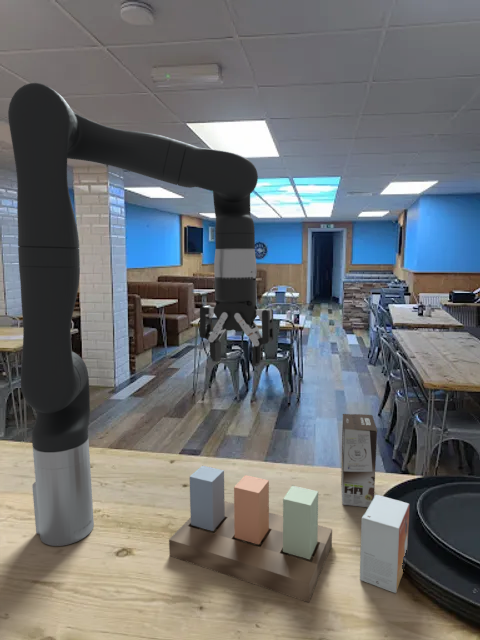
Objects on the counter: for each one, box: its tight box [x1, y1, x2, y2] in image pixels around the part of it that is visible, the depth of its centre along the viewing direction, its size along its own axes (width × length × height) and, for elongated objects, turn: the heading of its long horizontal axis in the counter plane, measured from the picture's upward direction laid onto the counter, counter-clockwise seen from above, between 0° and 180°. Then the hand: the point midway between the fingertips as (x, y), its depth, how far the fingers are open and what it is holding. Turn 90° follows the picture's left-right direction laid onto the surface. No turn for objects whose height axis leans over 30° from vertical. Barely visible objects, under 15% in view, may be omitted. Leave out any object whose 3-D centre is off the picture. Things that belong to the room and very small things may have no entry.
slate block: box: [189, 465, 225, 532], centre depth 77 cm, size 4×4×9 cm
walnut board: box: [168, 500, 333, 603], centre depth 74 cm, size 24×14×3 cm, turn 65°
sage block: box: [282, 485, 319, 560], centre depth 70 cm, size 4×4×9 cm
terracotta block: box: [233, 474, 270, 546], centre depth 73 cm, size 4×4×9 cm
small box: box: [359, 494, 411, 594], centre depth 68 cm, size 8×6×10 cm
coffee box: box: [340, 413, 378, 508], centre depth 90 cm, size 9×6×16 cm
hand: (236, 363), depth 81 cm, fingers open, 7 cm apart
